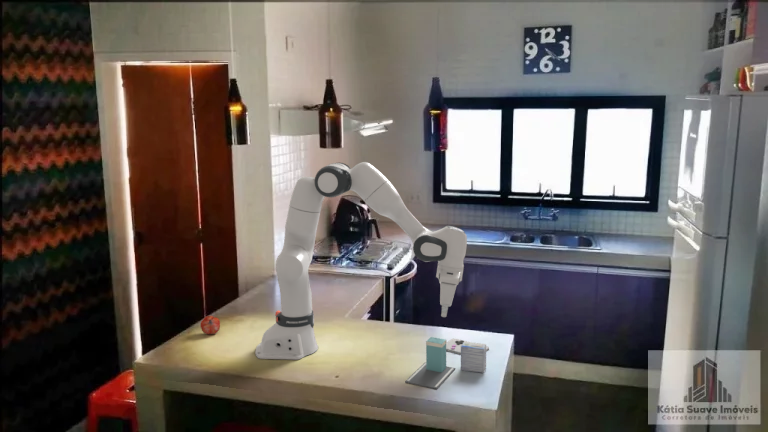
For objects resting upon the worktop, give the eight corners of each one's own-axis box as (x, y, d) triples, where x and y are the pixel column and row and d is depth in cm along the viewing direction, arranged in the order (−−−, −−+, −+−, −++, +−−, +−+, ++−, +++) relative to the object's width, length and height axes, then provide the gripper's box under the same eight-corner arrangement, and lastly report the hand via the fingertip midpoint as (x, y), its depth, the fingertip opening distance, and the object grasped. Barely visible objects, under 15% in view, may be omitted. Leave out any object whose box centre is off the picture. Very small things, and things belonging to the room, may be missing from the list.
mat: (437, 389, 190) (437, 387, 190) (405, 382, 195) (405, 381, 195) (455, 369, 204) (455, 367, 204) (425, 363, 209) (425, 362, 209)
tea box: (441, 372, 201) (441, 343, 199) (426, 369, 203) (426, 341, 201) (446, 367, 204) (446, 339, 202) (430, 364, 207) (430, 336, 205)
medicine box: (486, 368, 204) (486, 343, 203) (484, 373, 200) (484, 348, 199) (463, 365, 207) (463, 341, 205) (460, 370, 203) (460, 346, 201)
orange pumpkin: (200, 337, 241) (197, 330, 233) (203, 319, 245) (200, 311, 236) (220, 338, 242) (216, 331, 233) (222, 320, 246) (219, 312, 237)
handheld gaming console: (453, 337, 228) (489, 346, 220) (453, 341, 229) (489, 350, 220) (439, 346, 221) (476, 355, 212) (439, 350, 221) (476, 359, 212)
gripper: (440, 267, 219) (435, 305, 220) (439, 277, 199) (433, 318, 200) (458, 270, 218) (452, 307, 220) (459, 280, 198) (453, 321, 199)
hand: (443, 313), depth 210 cm, fingers open, 8 cm apart
